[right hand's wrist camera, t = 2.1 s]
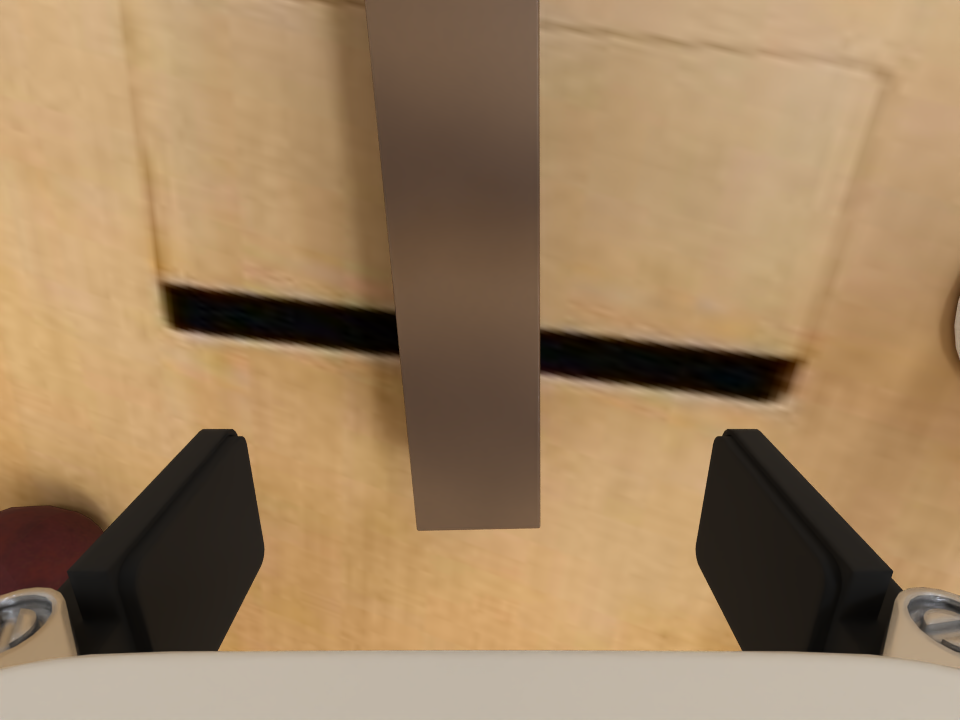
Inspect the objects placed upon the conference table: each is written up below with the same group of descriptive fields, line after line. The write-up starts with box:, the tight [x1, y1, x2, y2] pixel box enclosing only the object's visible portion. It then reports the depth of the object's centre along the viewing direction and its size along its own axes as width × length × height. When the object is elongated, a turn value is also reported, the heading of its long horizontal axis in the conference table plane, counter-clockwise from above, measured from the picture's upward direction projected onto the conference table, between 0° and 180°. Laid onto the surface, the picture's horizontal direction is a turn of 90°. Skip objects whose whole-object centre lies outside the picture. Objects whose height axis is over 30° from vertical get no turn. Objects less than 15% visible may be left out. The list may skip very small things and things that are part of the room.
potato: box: [0, 506, 103, 596], centre depth 30 cm, size 7×8×7 cm
